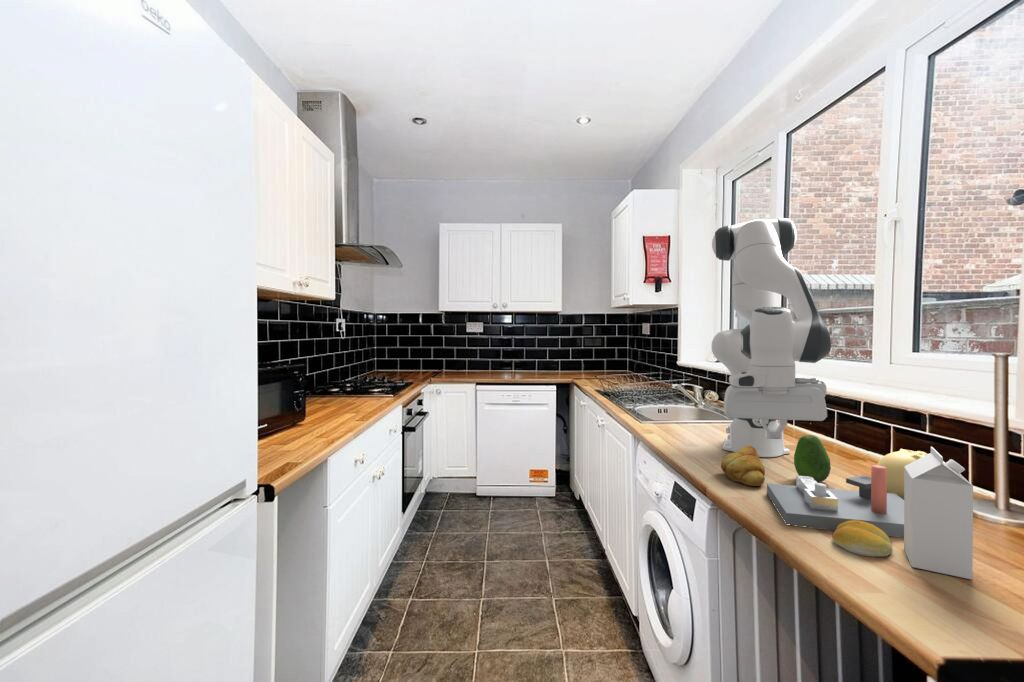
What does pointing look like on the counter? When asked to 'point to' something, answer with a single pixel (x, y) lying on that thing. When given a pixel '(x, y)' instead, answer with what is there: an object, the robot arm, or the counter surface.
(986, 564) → the counter surface
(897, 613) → the counter surface
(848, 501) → the board
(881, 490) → the peg
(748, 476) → the bread roll
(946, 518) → the milk carton
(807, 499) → the link
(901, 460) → the sculpture
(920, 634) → the counter surface
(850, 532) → the bread roll
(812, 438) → the avocado
